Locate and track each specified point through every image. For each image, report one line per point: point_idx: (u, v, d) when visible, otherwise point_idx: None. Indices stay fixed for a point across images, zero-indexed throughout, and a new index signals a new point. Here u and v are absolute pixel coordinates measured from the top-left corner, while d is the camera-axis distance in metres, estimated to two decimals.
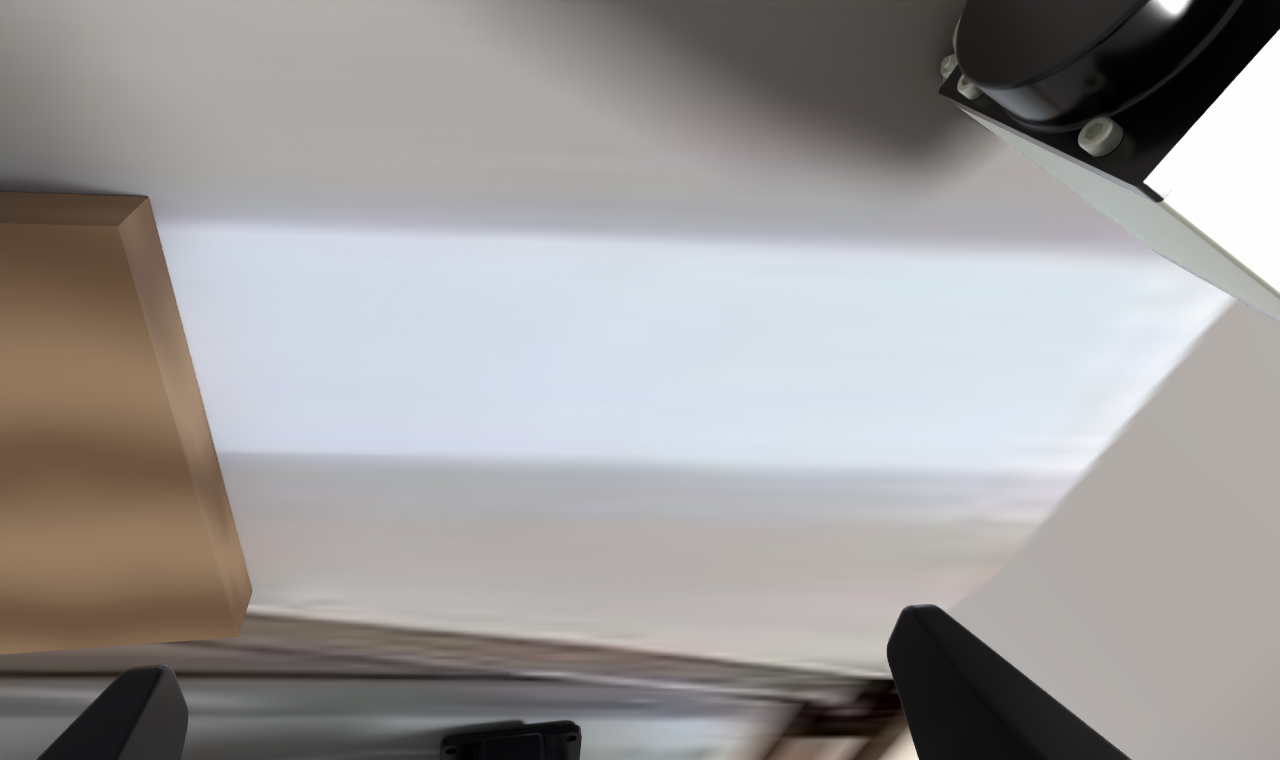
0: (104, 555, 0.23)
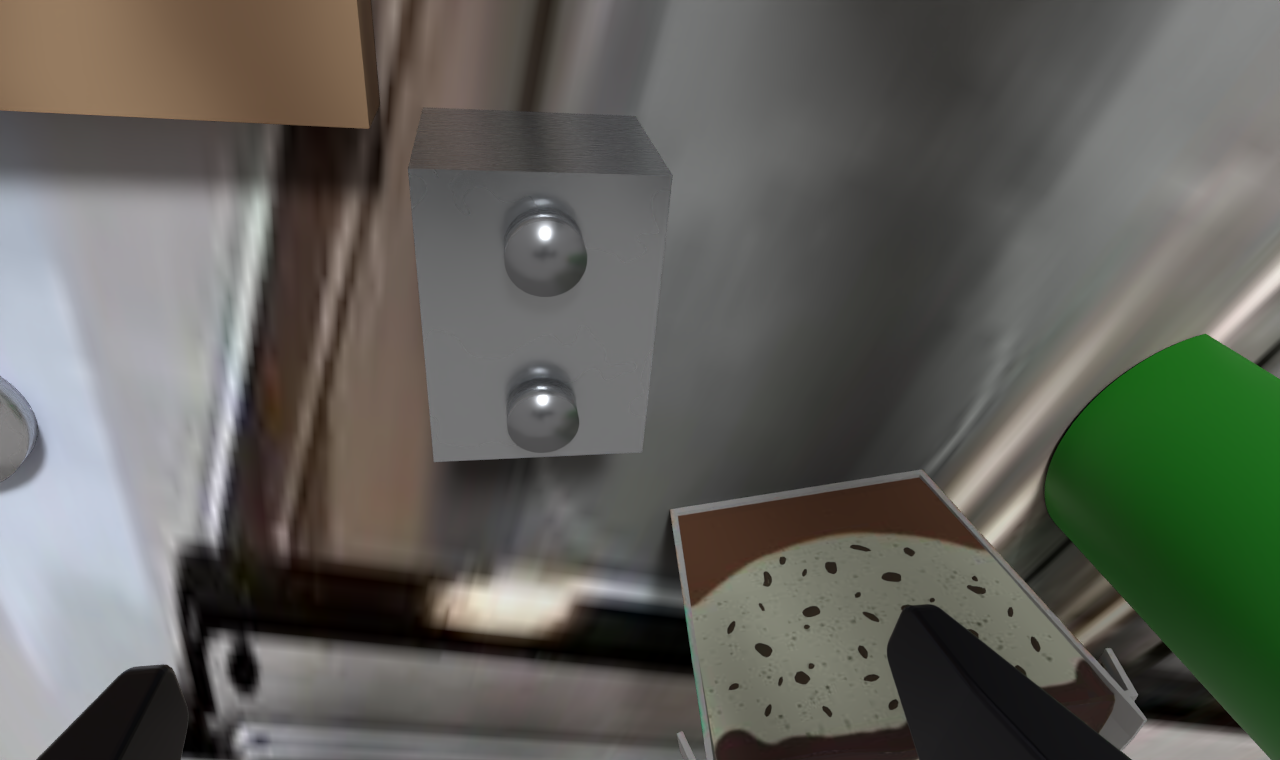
0: None
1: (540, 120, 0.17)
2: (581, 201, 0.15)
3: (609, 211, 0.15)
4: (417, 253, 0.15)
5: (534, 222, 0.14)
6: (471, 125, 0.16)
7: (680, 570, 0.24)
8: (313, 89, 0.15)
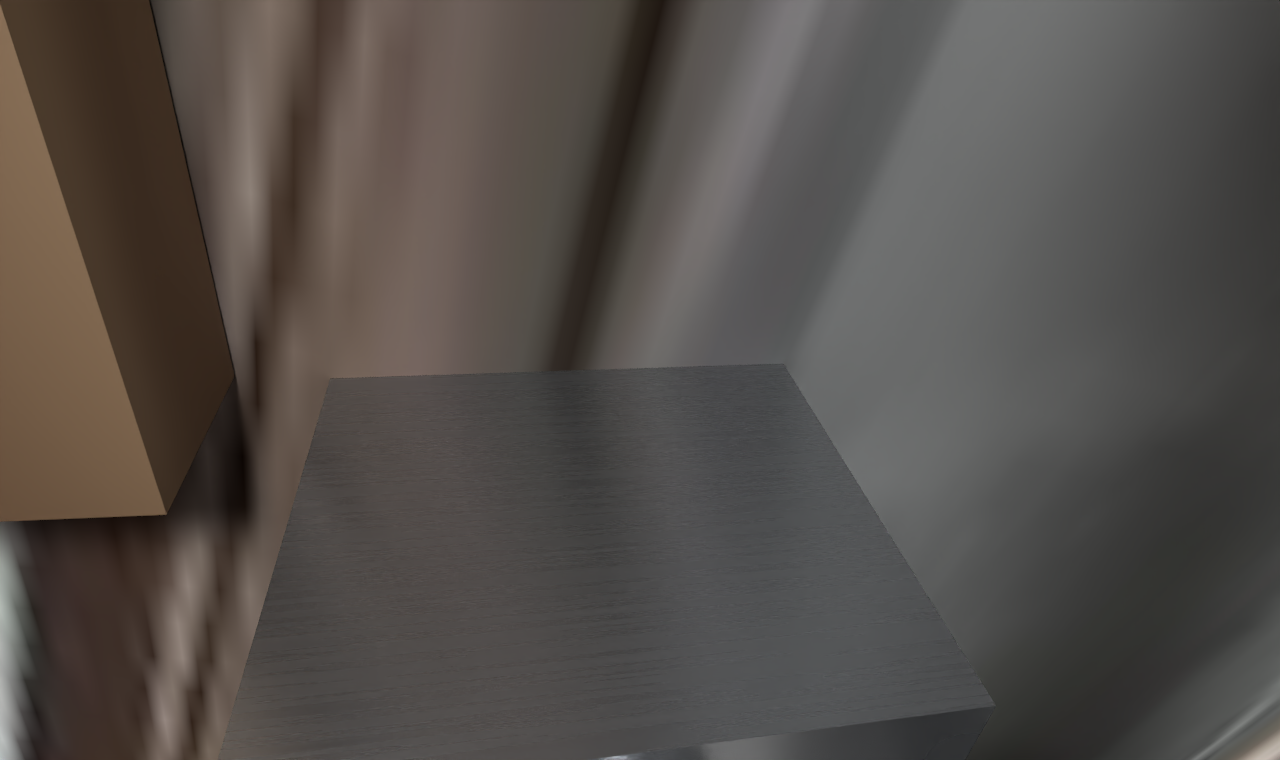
0: None
1: (592, 411, 0.08)
2: None
3: None
4: None
5: None
6: (433, 458, 0.07)
7: None
8: None
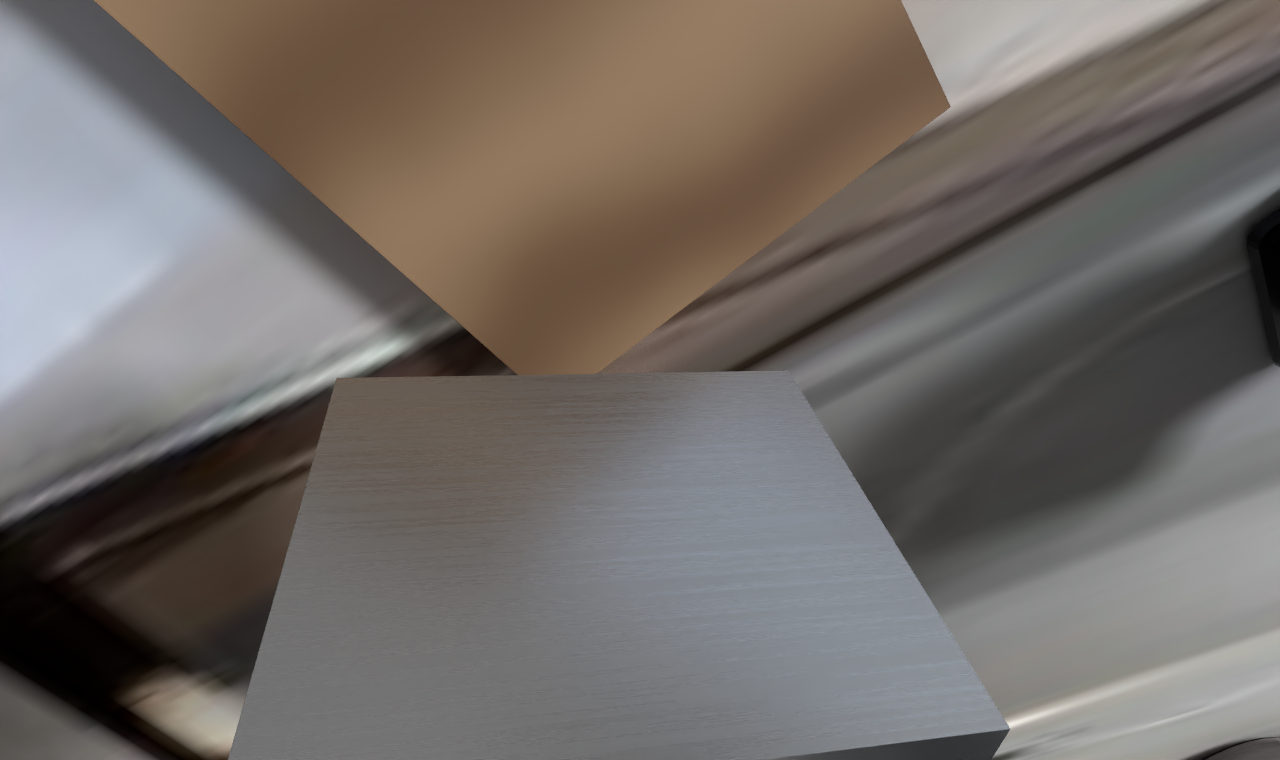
0: (725, 33, 0.14)
1: (599, 420, 0.08)
2: None
3: None
4: None
5: None
6: (440, 466, 0.07)
7: None
8: (548, 364, 0.17)
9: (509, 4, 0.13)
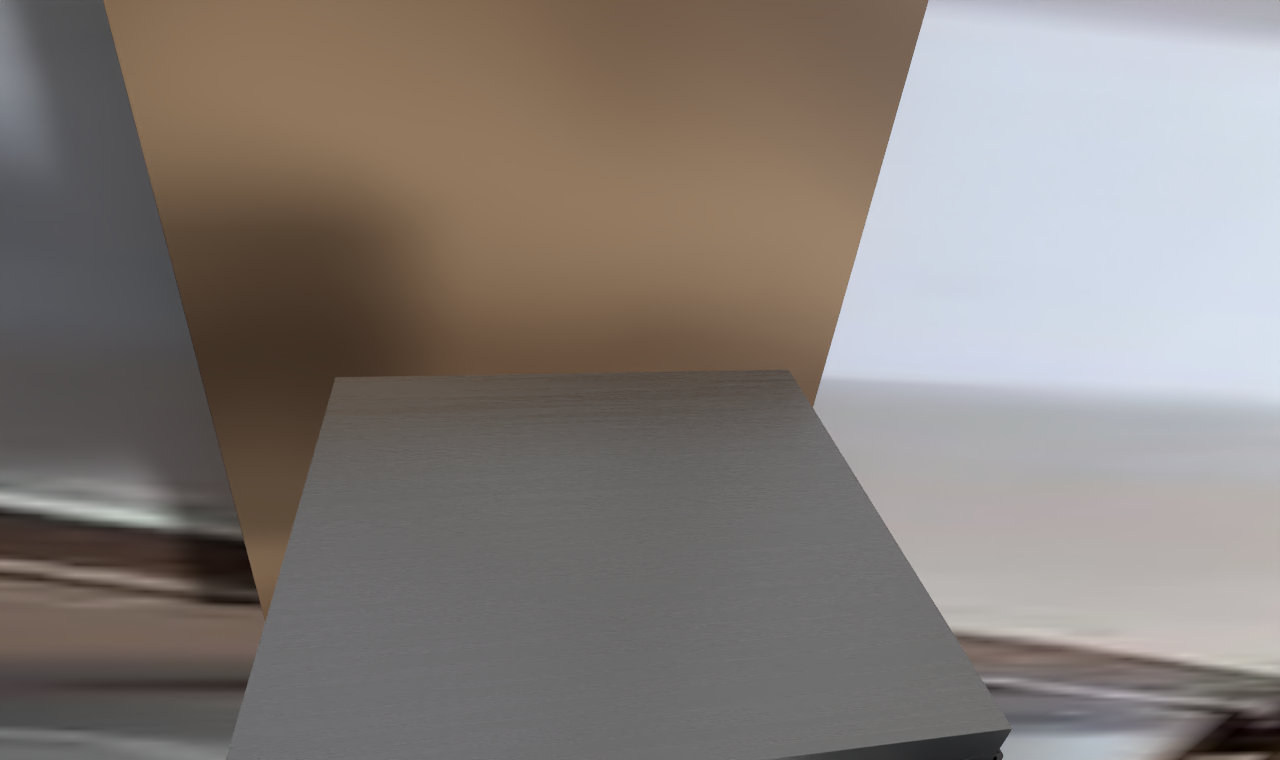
0: None
1: (599, 419, 0.08)
2: None
3: None
4: None
5: None
6: (439, 465, 0.07)
7: None
8: None
9: None
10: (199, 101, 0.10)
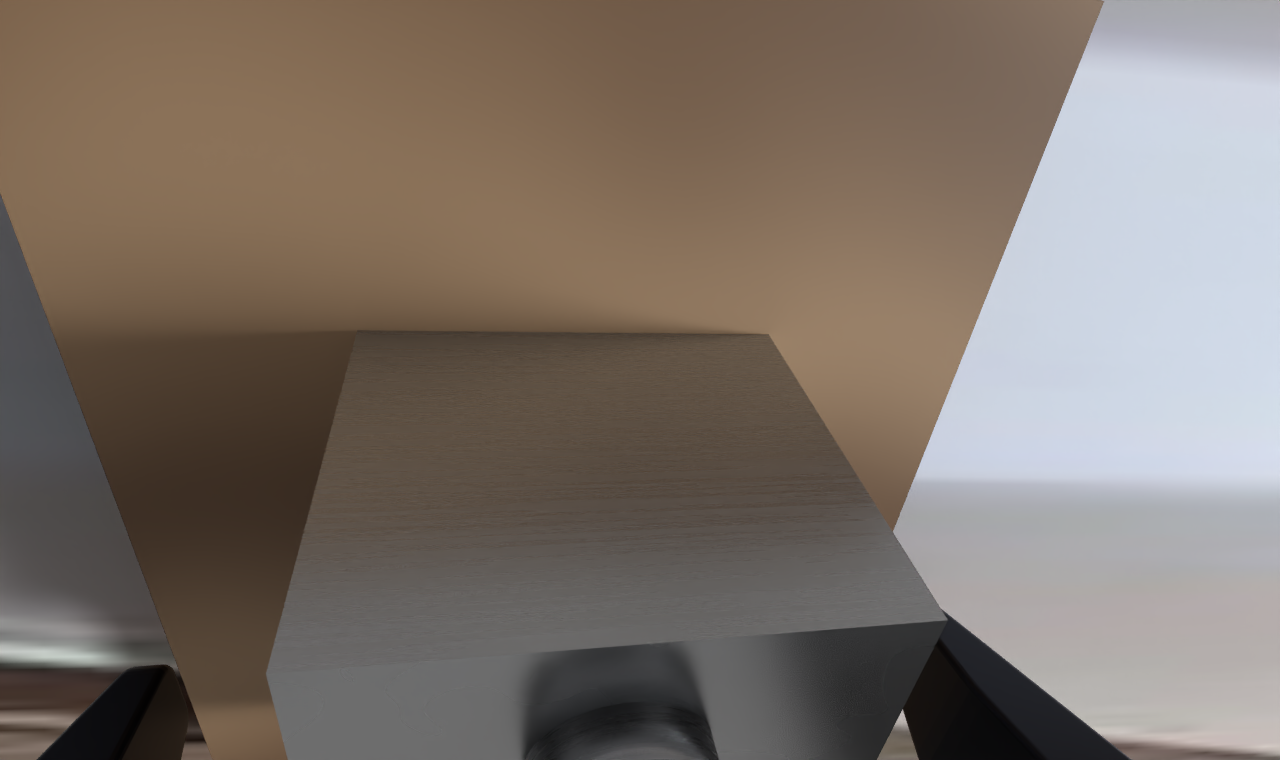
0: None
1: (596, 371, 0.08)
2: (723, 684, 0.06)
3: (784, 694, 0.06)
4: None
5: None
6: (453, 405, 0.08)
7: None
8: None
9: None
10: (101, 197, 0.07)
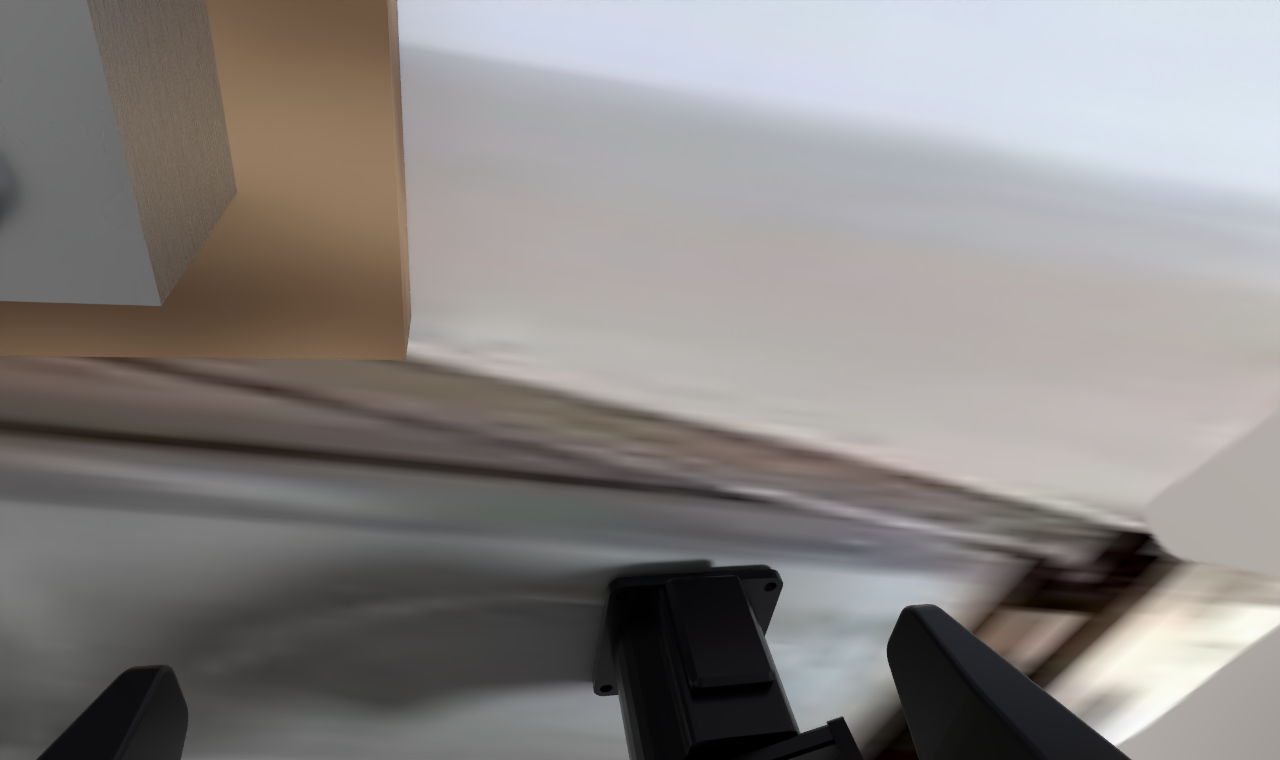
0: None
1: None
2: None
3: None
4: None
5: None
6: None
7: None
8: None
9: None
10: None
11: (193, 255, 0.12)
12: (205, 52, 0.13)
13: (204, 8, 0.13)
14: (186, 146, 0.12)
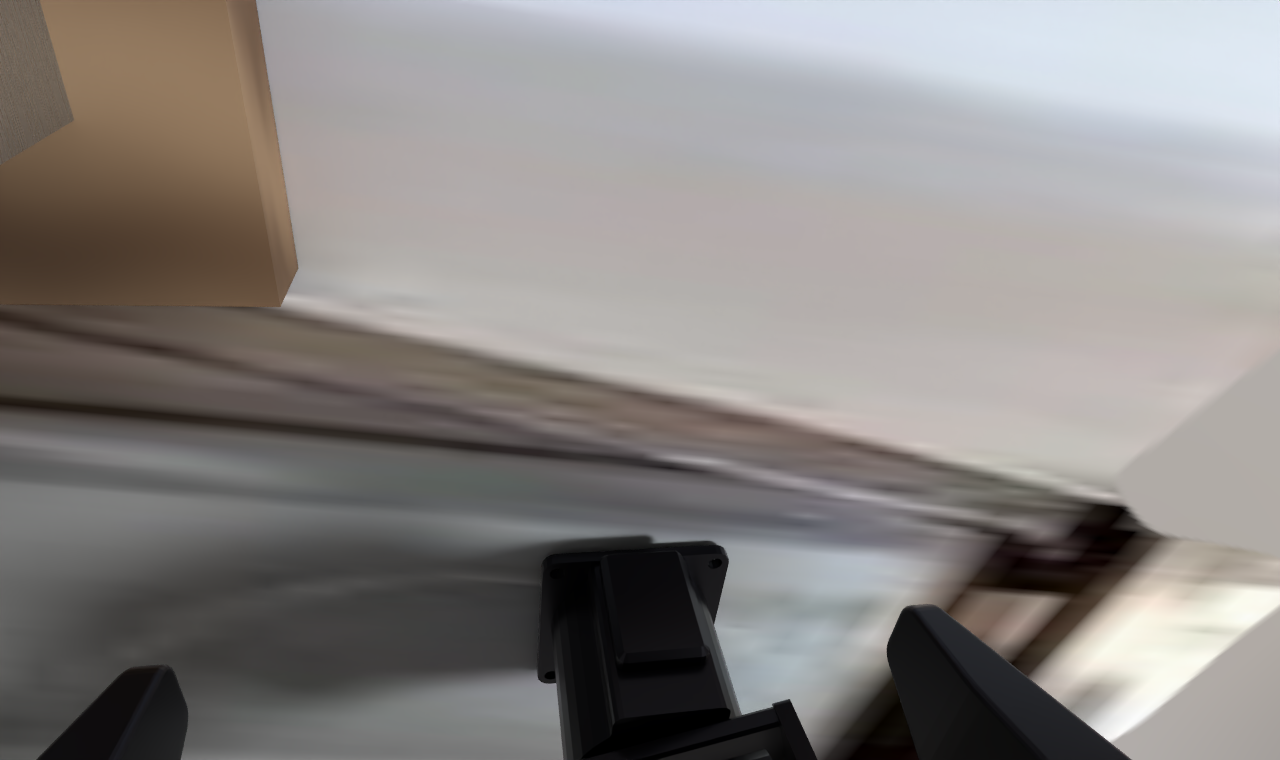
0: None
1: None
2: None
3: None
4: None
5: None
6: None
7: None
8: None
9: None
10: None
11: None
12: None
13: None
14: None
